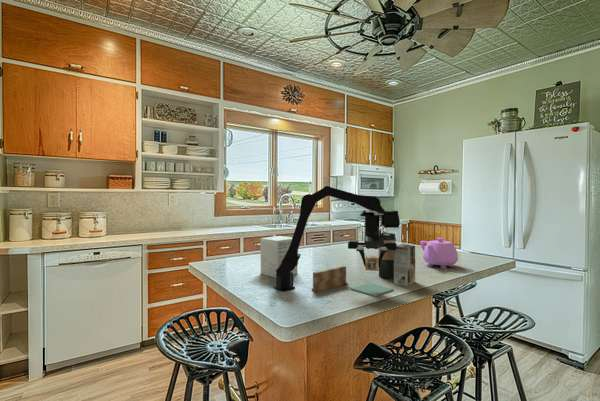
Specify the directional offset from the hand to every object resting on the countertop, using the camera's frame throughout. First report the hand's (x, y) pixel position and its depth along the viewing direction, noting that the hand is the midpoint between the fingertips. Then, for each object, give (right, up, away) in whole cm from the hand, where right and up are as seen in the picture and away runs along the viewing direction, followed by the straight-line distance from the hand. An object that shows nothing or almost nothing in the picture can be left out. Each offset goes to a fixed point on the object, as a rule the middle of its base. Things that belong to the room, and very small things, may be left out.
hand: (371, 266), depth 127 cm
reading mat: (0, -9, 0) cm, 9 cm away
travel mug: (+12, -9, +21) cm, 25 cm away
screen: (-16, -9, +4) cm, 19 cm away
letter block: (0, -1, 0) cm, 1 cm away
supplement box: (-39, -9, +27) cm, 48 cm away
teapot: (+44, -9, +43) cm, 62 cm away
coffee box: (+17, -9, +10) cm, 22 cm away
